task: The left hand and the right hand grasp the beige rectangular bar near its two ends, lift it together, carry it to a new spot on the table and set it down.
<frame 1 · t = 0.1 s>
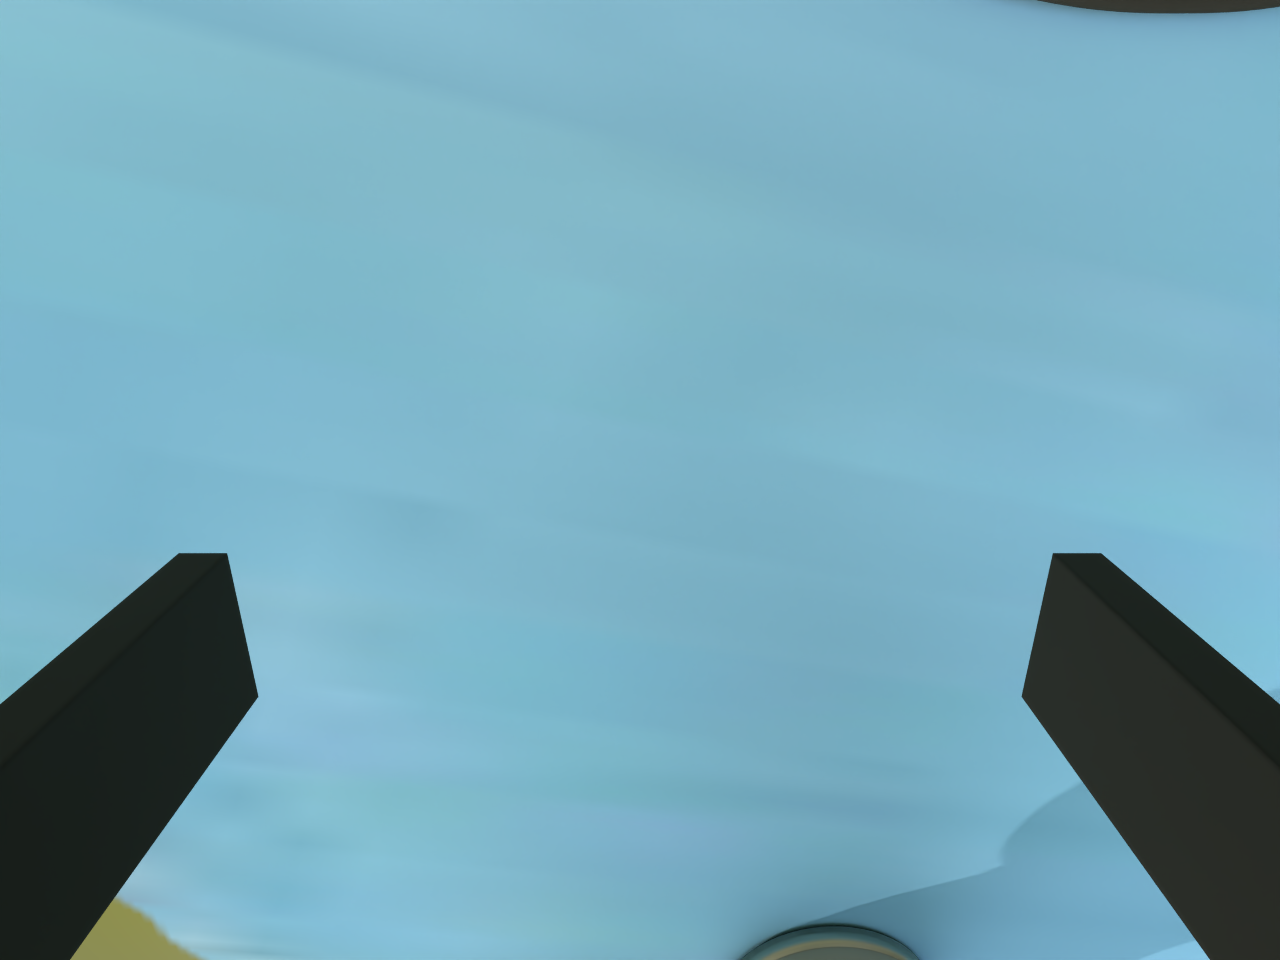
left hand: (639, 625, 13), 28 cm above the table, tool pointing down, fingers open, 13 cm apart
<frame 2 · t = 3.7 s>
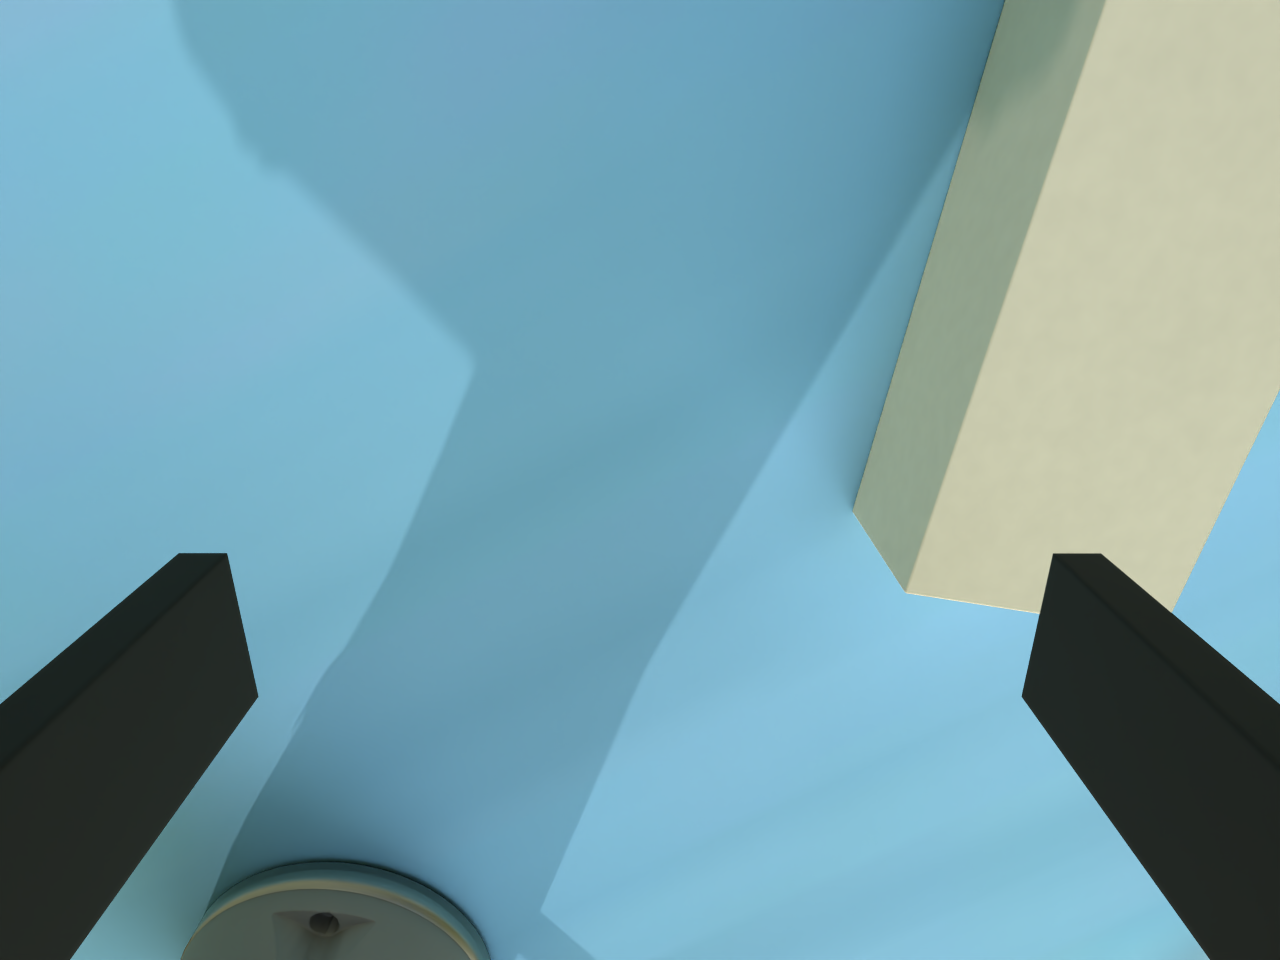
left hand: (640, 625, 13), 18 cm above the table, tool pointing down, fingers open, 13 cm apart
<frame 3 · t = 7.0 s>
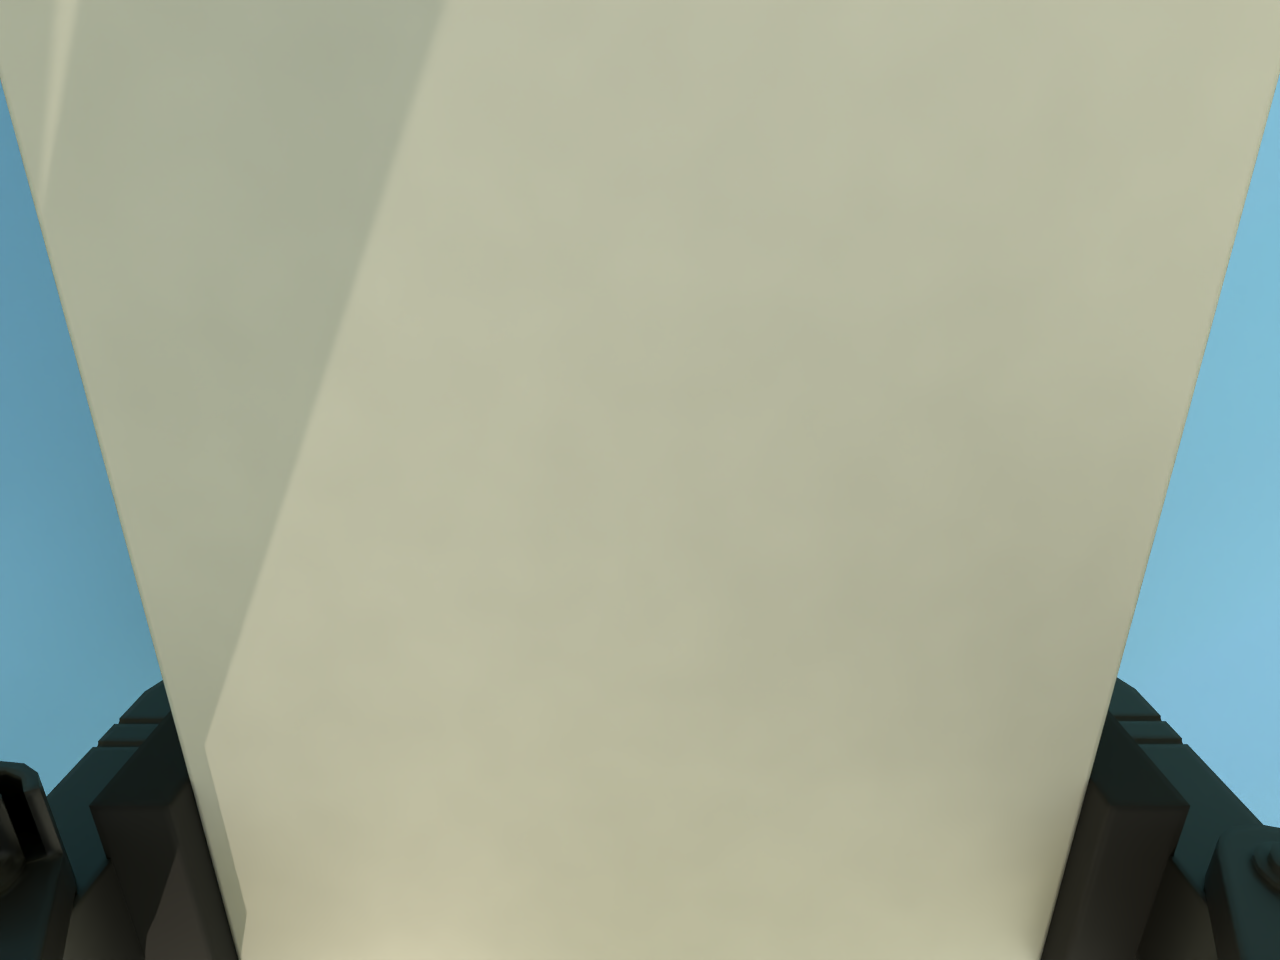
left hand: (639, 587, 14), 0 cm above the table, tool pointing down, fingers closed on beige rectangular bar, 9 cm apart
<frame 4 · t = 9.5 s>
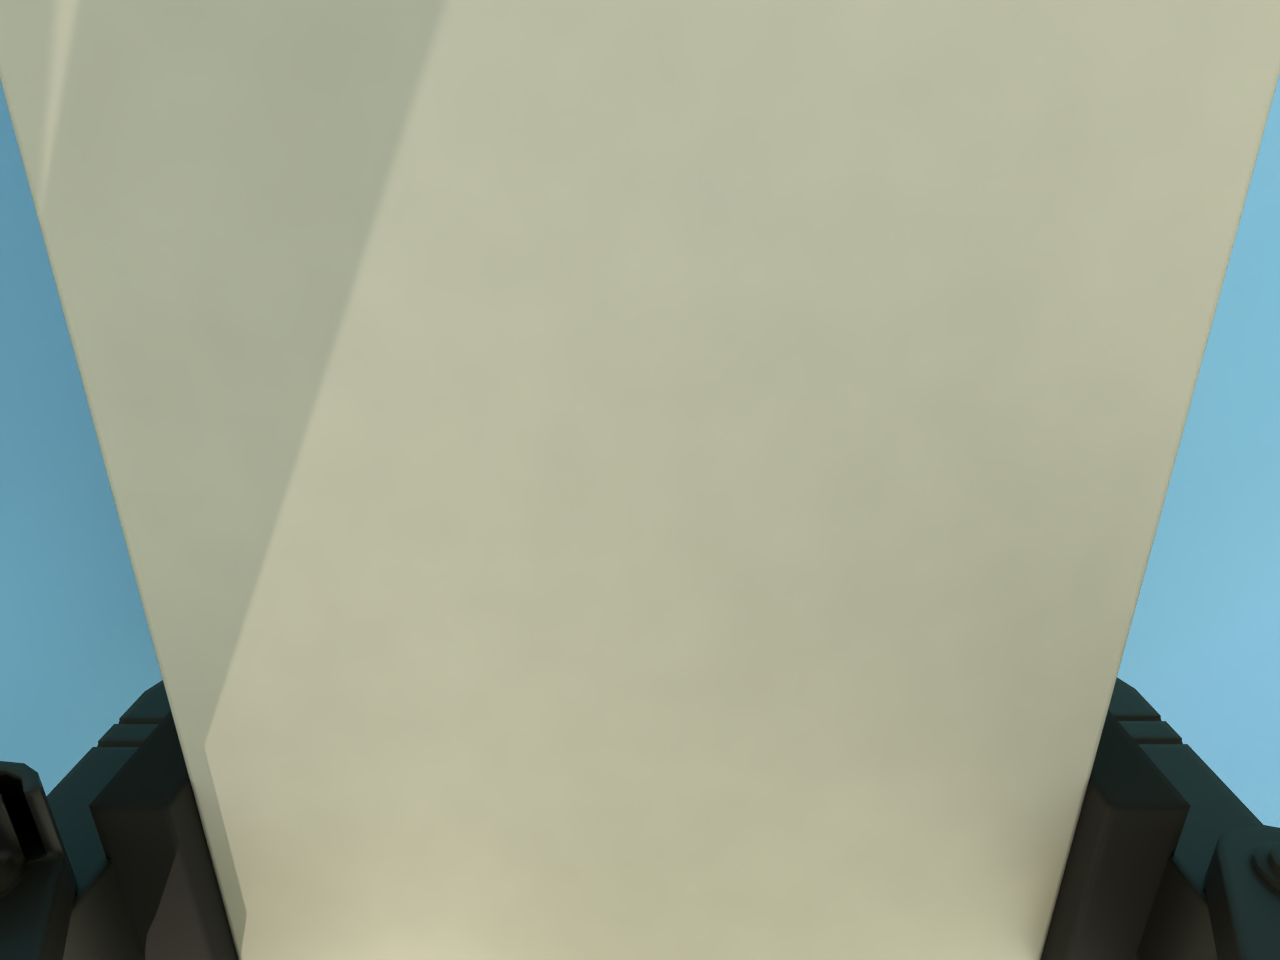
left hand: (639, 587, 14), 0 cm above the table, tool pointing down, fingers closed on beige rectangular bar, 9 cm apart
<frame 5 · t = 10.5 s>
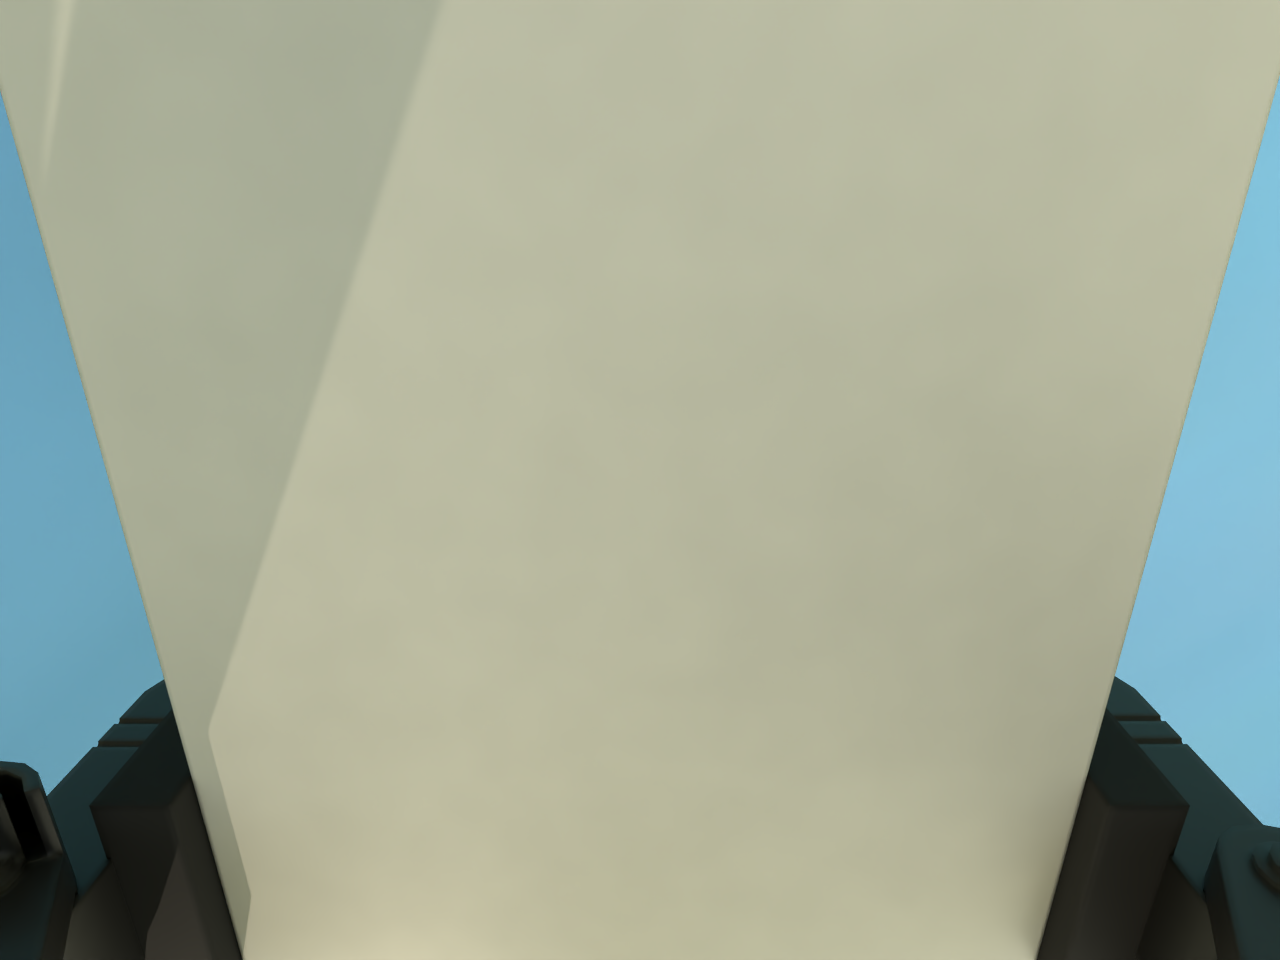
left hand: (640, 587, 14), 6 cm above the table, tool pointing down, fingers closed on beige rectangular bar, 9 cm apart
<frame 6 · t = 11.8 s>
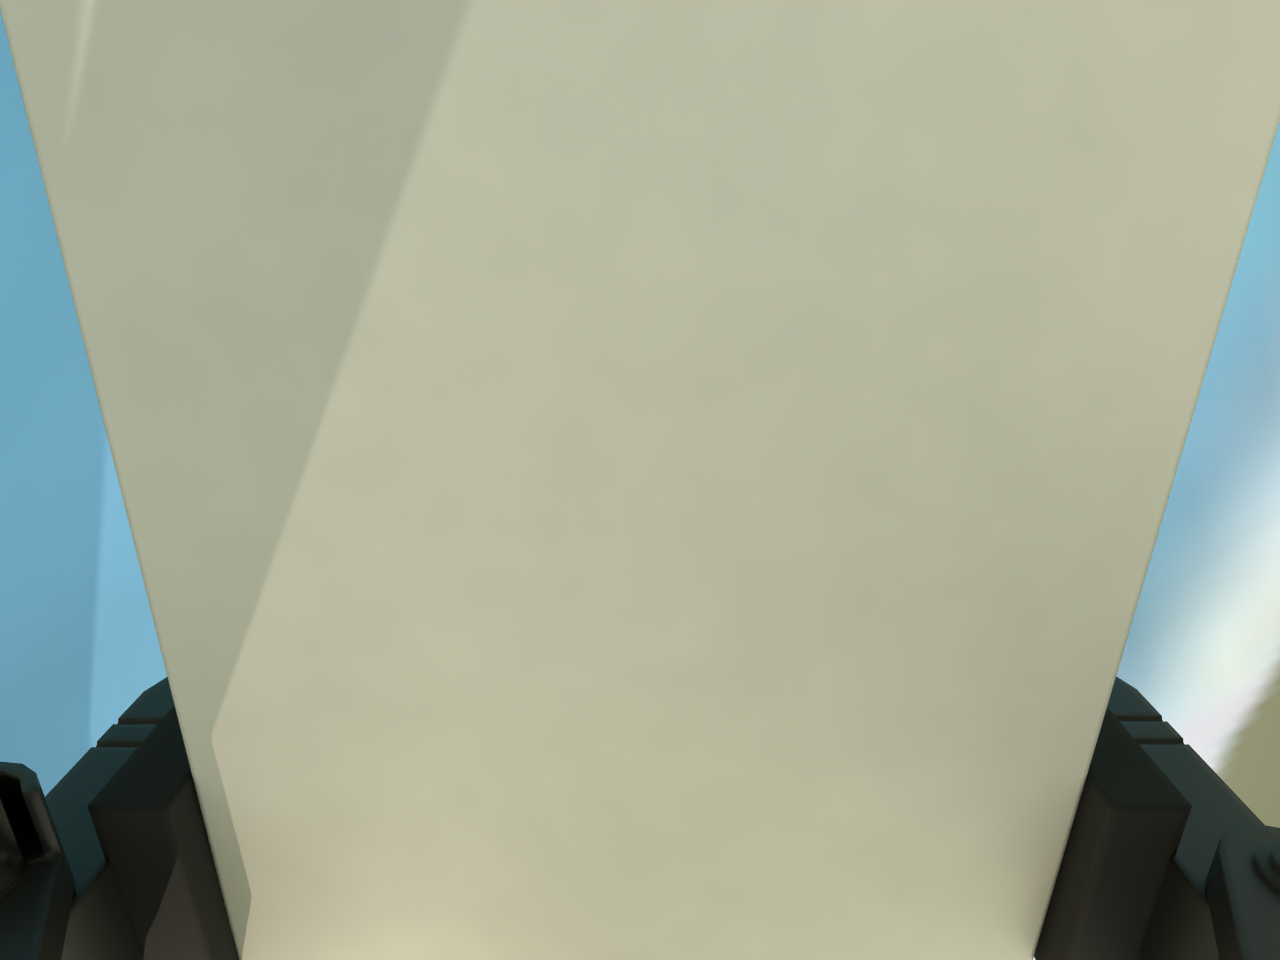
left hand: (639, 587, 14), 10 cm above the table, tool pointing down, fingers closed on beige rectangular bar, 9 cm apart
when the left hand's fingers open (1 cm above the table, at t = 14.1 s): beige rectangular bar stays where it is, on the table.
when the right hand's fingers open (1 cm above the table, at t = 14.1 s): beige rectangular bar stays where it is, on the table.
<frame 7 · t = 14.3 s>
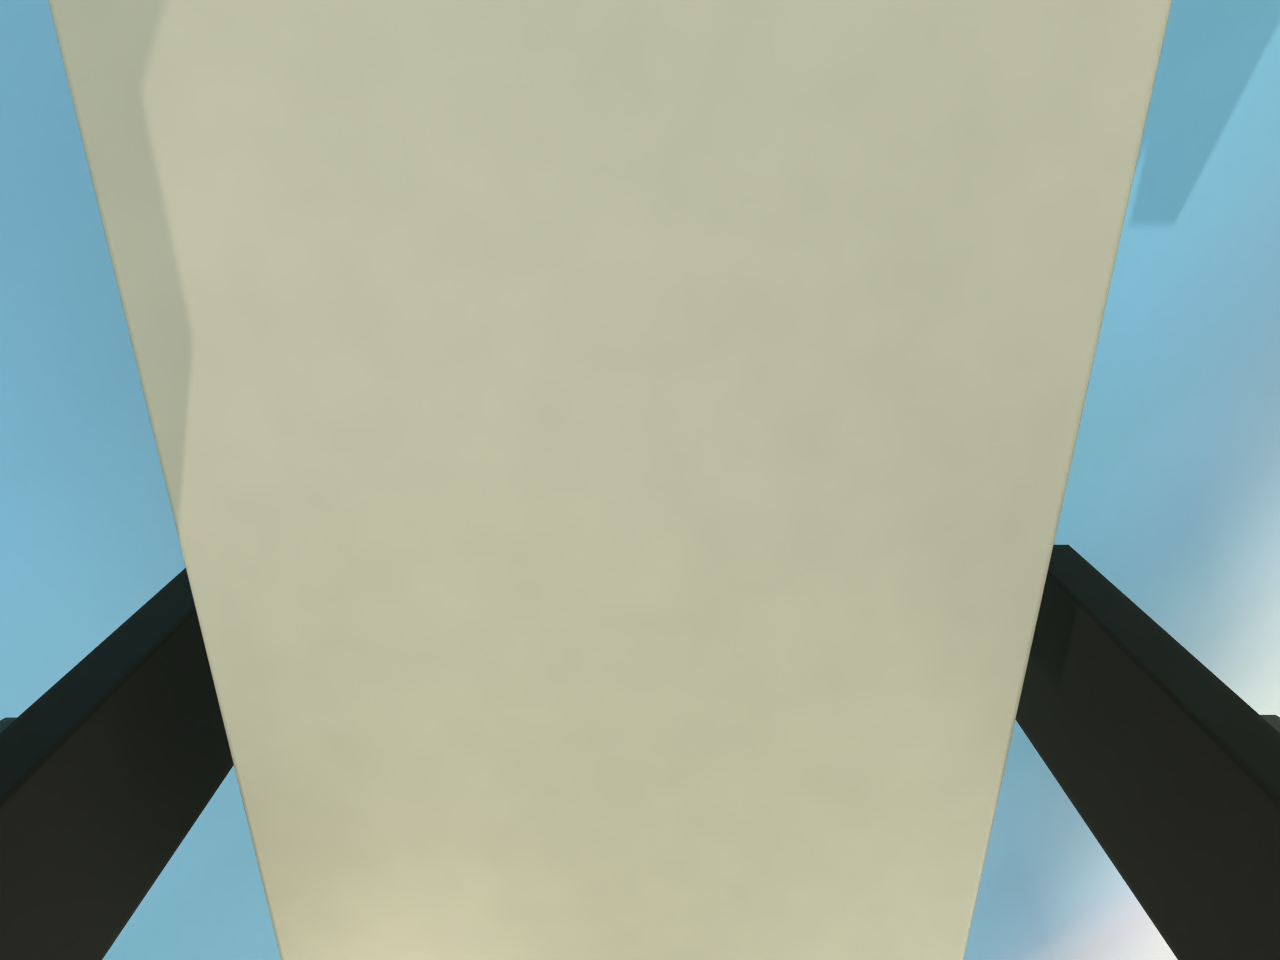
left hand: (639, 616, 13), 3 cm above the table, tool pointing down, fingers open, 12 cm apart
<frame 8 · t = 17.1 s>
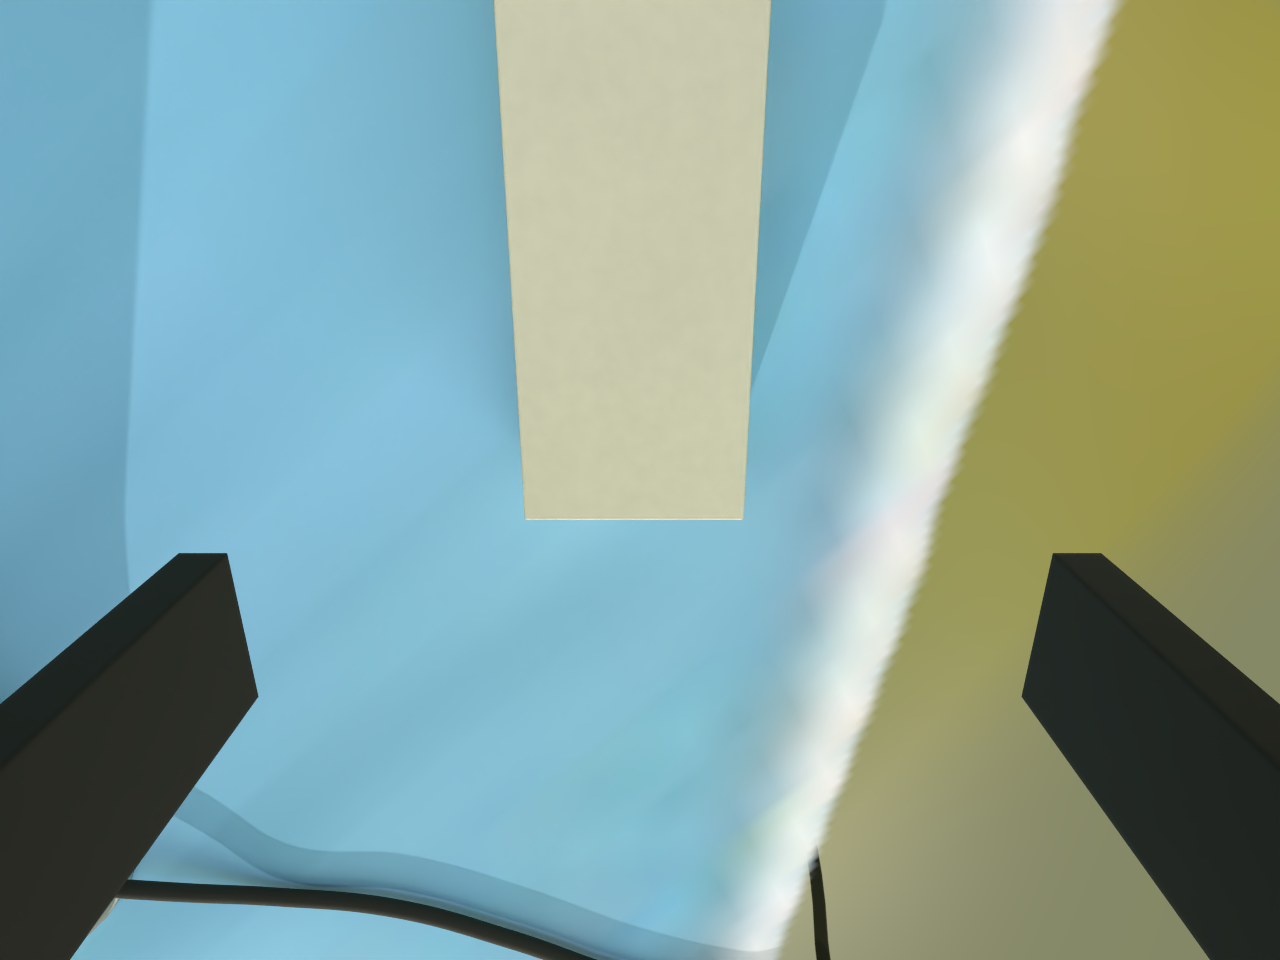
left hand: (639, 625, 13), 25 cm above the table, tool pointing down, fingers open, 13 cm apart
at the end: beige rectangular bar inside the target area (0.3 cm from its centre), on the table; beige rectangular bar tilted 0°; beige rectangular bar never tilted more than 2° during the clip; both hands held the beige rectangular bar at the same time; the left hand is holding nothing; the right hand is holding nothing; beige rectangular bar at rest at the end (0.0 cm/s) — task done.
